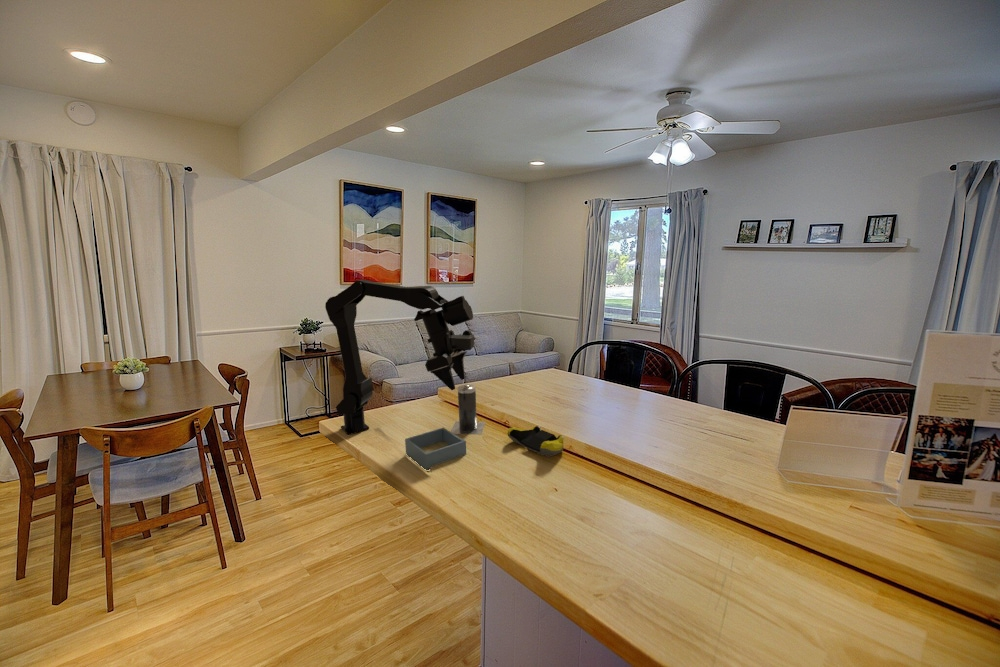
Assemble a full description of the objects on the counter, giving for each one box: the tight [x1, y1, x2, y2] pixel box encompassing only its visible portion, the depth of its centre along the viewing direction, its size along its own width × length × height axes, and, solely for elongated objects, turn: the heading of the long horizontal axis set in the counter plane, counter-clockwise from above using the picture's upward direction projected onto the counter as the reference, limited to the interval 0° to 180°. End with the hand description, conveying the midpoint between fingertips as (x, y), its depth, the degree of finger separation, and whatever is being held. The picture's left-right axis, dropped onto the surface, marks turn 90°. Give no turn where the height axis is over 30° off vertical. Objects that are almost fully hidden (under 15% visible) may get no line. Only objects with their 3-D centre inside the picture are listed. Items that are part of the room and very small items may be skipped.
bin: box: [404, 427, 467, 470], centre depth 111 cm, size 11×11×4 cm
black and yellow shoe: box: [507, 425, 565, 458], centre depth 113 cm, size 15×6×10 cm
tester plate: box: [450, 420, 487, 435], centre depth 127 cm, size 9×9×1 cm
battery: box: [457, 384, 478, 431], centre depth 125 cm, size 5×5×13 cm
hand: (458, 384), depth 121 cm, fingers open, 9 cm apart
